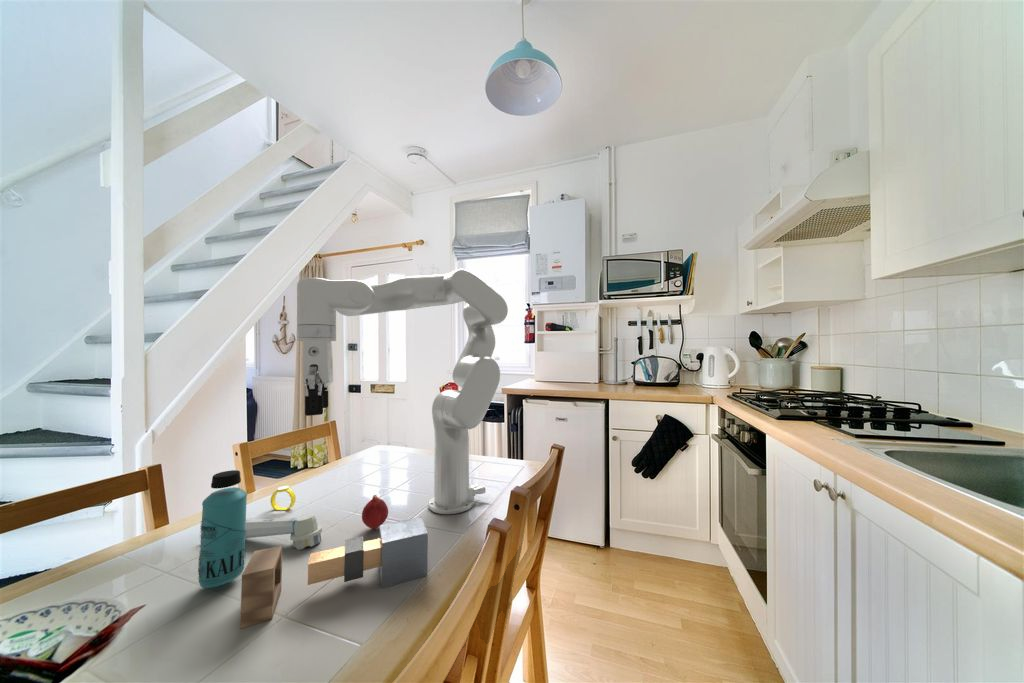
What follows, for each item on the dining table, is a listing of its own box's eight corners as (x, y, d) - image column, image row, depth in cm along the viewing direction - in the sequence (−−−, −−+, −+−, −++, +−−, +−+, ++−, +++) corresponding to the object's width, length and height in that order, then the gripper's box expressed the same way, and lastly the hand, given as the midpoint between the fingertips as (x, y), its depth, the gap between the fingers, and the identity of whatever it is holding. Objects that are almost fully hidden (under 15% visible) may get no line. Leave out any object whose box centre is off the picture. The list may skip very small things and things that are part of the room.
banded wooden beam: (419, 548, 67) (419, 524, 67) (423, 561, 63) (423, 535, 63) (310, 574, 59) (311, 547, 59) (306, 592, 55) (307, 562, 55)
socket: (281, 590, 58) (282, 545, 58) (272, 619, 52) (273, 568, 52) (253, 598, 56) (254, 551, 57) (240, 628, 50) (241, 575, 50)
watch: (268, 513, 88) (267, 490, 88) (276, 508, 91) (275, 486, 91) (290, 511, 88) (289, 488, 88) (297, 506, 91) (296, 484, 91)
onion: (393, 525, 81) (393, 491, 81) (376, 537, 75) (376, 501, 76) (373, 521, 83) (374, 488, 83) (356, 533, 77) (356, 498, 78)
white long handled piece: (228, 515, 78) (325, 505, 76) (230, 544, 78) (328, 535, 75) (205, 527, 73) (309, 516, 70) (207, 558, 73) (312, 549, 70)
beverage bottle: (216, 574, 63) (220, 467, 64) (254, 572, 63) (257, 465, 64) (185, 599, 56) (190, 479, 57) (227, 596, 57) (231, 478, 58)
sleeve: (420, 555, 68) (421, 516, 69) (427, 575, 62) (427, 532, 62) (379, 565, 65) (379, 525, 65) (381, 588, 59) (382, 543, 59)
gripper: (332, 331, 67) (332, 416, 67) (339, 336, 83) (339, 404, 83) (288, 331, 64) (288, 420, 64) (304, 336, 80) (304, 407, 80)
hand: (317, 411), depth 73 cm, fingers open, 9 cm apart
